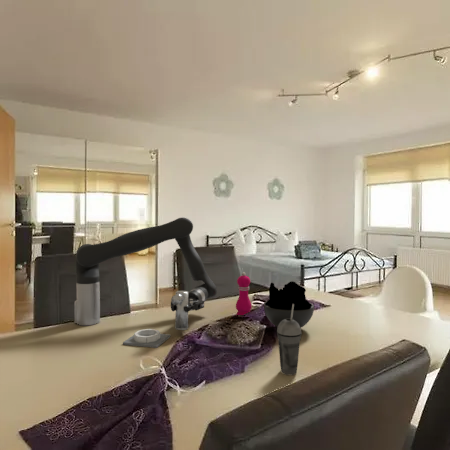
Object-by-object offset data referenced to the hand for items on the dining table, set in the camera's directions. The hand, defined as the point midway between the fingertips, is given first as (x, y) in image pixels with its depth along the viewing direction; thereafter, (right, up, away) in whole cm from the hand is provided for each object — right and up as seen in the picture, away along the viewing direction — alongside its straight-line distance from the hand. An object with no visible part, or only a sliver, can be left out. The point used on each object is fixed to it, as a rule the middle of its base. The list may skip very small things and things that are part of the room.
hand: (179, 309), depth 138 cm
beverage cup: (+36, -12, -30) cm, 48 cm away
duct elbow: (0, -8, +1) cm, 8 cm away
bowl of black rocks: (+43, -10, +9) cm, 45 cm away
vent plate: (-11, -10, -4) cm, 16 cm away
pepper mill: (+26, -10, +28) cm, 39 cm away
